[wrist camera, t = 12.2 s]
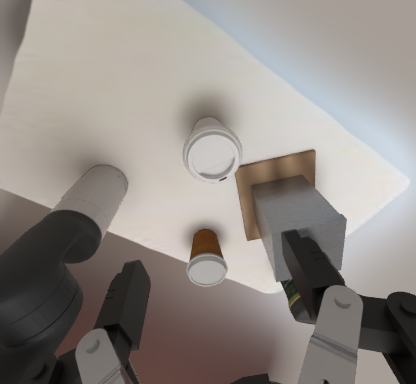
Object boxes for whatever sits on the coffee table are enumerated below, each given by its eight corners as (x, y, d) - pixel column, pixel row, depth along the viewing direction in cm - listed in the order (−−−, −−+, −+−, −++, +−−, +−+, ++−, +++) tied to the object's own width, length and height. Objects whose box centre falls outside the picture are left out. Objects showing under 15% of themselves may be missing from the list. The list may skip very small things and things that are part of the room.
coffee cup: (187, 156, 50) (185, 190, 37) (182, 110, 45) (178, 131, 32) (231, 152, 50) (244, 185, 37) (230, 107, 45) (245, 126, 32)
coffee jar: (267, 263, 68) (289, 326, 52) (280, 245, 65) (308, 306, 49) (294, 270, 71) (324, 332, 55) (308, 252, 67) (345, 313, 51)
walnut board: (246, 238, 63) (247, 241, 62) (233, 167, 52) (234, 169, 51) (312, 225, 62) (313, 227, 61) (313, 149, 51) (315, 151, 50)
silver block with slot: (256, 233, 61) (277, 291, 46) (249, 184, 53) (271, 234, 38) (303, 224, 60) (339, 279, 45) (302, 173, 52) (346, 219, 37)
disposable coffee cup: (222, 223, 60) (227, 257, 49) (223, 249, 65) (228, 286, 54) (185, 226, 60) (183, 261, 49) (189, 252, 64) (188, 289, 54)
